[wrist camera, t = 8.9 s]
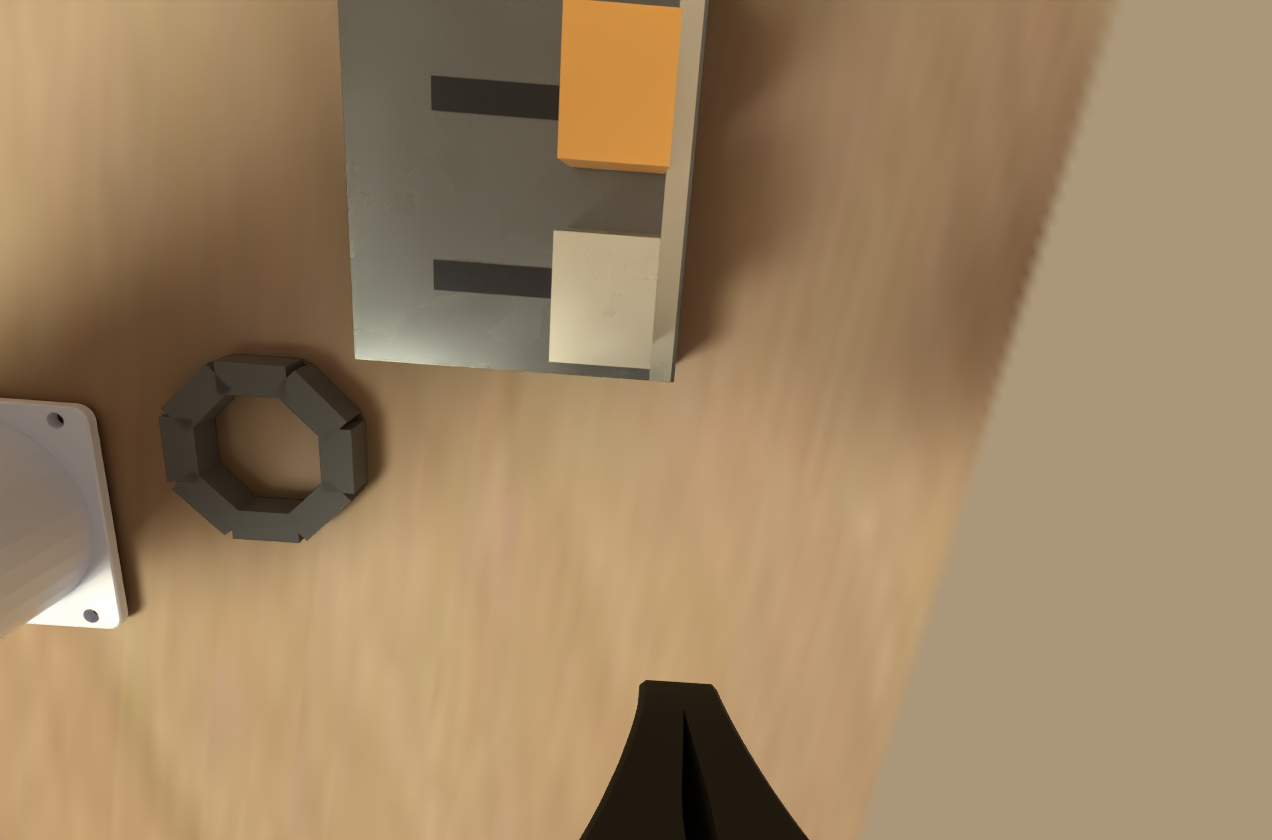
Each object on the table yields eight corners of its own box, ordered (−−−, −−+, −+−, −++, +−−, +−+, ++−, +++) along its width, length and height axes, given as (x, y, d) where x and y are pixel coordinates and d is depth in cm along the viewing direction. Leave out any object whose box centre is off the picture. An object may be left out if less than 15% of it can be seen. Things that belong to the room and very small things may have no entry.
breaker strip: (380, 345, 21) (304, 385, 16) (360, -208, 17) (251, -373, 12) (670, 366, 21) (679, 411, 16) (719, -177, 17) (751, -327, 12)
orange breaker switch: (570, 166, 17) (557, 158, 14) (576, 34, 16) (563, -2, 14) (664, 173, 17) (669, 166, 15) (675, 43, 17) (682, 8, 14)
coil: (196, 519, 23) (174, 534, 22) (175, 349, 21) (150, 356, 20) (369, 531, 23) (356, 546, 22) (362, 362, 21) (348, 371, 20)
